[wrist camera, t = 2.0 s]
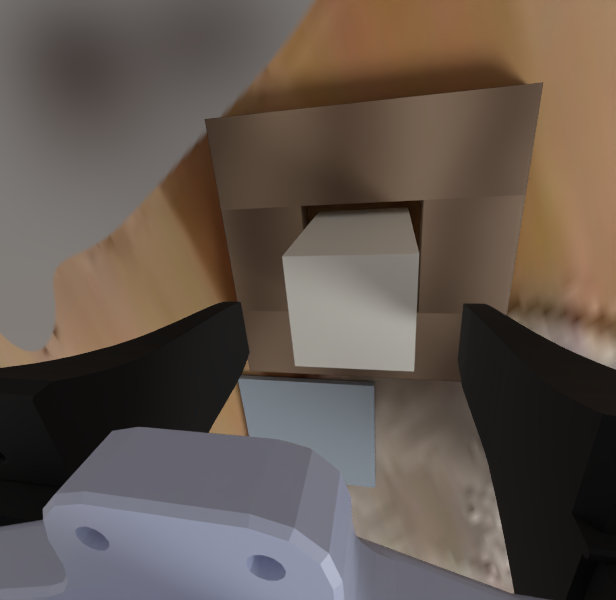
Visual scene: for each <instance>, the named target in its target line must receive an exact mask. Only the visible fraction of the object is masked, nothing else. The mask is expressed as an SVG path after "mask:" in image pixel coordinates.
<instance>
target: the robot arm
mask: <svg viewBox="0 0 616 600" xmlns="http://www.w3.org/2000/svg"><path fill="white" fill-rule="evenodd" d="M249 353H250V351H249V345H248V340H247V334H246V328H245V323H244V317H243V311H242V306H241V302H222V303H218V304H215V305H213V306H210V307H208V308H206V309H203V310H201V311H199V312H197V313H195V314H192V315H190V316H188V317H186V318H184V319H181V320H179V321H177V322H175V323H172V324H170V325H168V326H165V327H163V328H161V329H158V330H156V331H154V332H151V333H149V334H146V335H144V336H141V337H138V338H135V339H132V340H129V341H126V342H123V343H120V344H117V345H114V346H110V347H107V348H103V349H99V350H95V351H92V352H88V353H84V354H80V355H76V356H71V357H66V358H62V359H56V360H51V361H46V362H40V363H34V364H27V365H20V366H12V367H5V368H0V600H616V370H615V369H612V368H610V367H607V366H605V365H602V364H599V363H597V362H595V361H592V360H590V359H588V358H585V357H583V356H581V355H578V354H576V353H574V352H572V351H569V350H567V349H565V348H563V347H561V346H559V345H557V344H555V343H553V342H551V341H550V340H548V339H546V338H544V337H542V336H540V335H538V334H537V333H535V332H533V331H531V330H530V329H528V328H526V327H524V326H523V325H521V324H519V323H518V322H516V321H514V320H513V319H511V318H510V317H508V316H506V315H505V314H503V313H502V312H500V311H498V310H497V309H495V308H493V307H491V306H489V305H487V304H477V303H463V311H462V321H461V331H460V341H459V351H458V366H459V371H460V377H461V382H462V387H463V390H464V393H465V396H466V399H467V402H468V405H469V408H470V411H471V414H472V416H473V419H474V422H475V425H476V428H477V431H478V434H479V436H480V439H481V442H482V445H483V448H484V451H485V454H486V458H487V461H488V465H489V469H490V473H491V478H492V482H493V487H494V491H495V496H496V500H497V505H498V510H499V515H500V520H501V524H502V529H503V534H504V539H505V544H506V550H507V555H508V560H509V566H510V571H511V576H512V582H513V587H514V593H515V594H512V593H509V592H506V591H503V590H500V589H498V588H495V587H492V586H490V585H487V584H484V583H482V582H479V581H476V580H473V579H471V578H468V577H465V576H463V575H460V574H457V573H455V572H452V571H449V570H446V569H444V568H441V567H438V566H436V565H433V564H430V563H428V562H425V561H422V560H420V559H417V558H414V557H411V556H409V555H406V554H403V553H401V552H398V551H395V550H393V549H390V548H387V547H384V546H382V545H379V544H376V543H374V542H371V541H368V540H366V539H363V538H360V537H357V536H356V535H355V531H354V527H353V523H352V504H351V496H350V493H349V491H348V489H347V486H346V484H345V482H344V479H343V477H342V475H341V472H340V471H339V470H338V469H336V468H335V467H334V466H332V465H331V464H330V463H329V462H327V461H326V460H325V459H324V458H322V457H321V456H320V455H318V454H317V453H316V452H315V451H313V450H312V449H311V448H307V447H304V446H300V445H297V444H294V443H290V442H287V441H283V440H280V439H270V438H259V437H248V436H237V435H226V434H214V433H209V431H210V429H211V427H212V425H213V423H214V422H215V420H216V418H217V416H218V415H219V413H220V411H221V410H222V408H223V406H224V404H225V403H226V401H227V399H228V398H229V396H230V394H231V392H232V391H233V389H234V387H235V385H236V384H237V382H238V380H239V378H240V376H241V374H242V372H243V369H244V367H245V364H246V361H247V359H248V356H249Z"/></svg>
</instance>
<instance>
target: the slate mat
mask: <svg viewBox="0 0 616 600" xmlns="http://www.w3.org/2000/svg"><path fill="white" fill-rule="evenodd" d="M238 382H239V387H240V392H241V397H242V402H243V407H244V412H245V418H246V423H247V428H248V433H249V437H259V438H270V439H280V440H283V441H287V442H290V443H294V444H297V445H300V446H304V447H307V448H311V449H312V450H313V451H315V452H316V453H317V454H318V455H320V456H321V457H322V458H324V459H325V460H326V461H327V462H329V463H330V464H331V465H332V466H334V467H335V468H336V469H338V470H339V471H340V472H341V475H342V477H343V479H344V482H345V484H348V485H357V486H365V487H374V488H375V412H374V382H361V381H342V380H324V379H305V378H286V377H268V376H249V375H241V376H240V378H239V380H238Z"/></svg>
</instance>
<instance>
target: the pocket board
mask: <svg viewBox="0 0 616 600" xmlns="http://www.w3.org/2000/svg"><path fill="white" fill-rule="evenodd" d="M542 87H543V83H534V84H524V85H515V86H506V87H497V88H488V89H478V90H469V91H460V92H451V93H442V94H432V95H423V96H414V97H405V98H396V99H386V100H377V101H368V102H359V103H350V104H340V105H331V106H322V107H313V108H304V109H294V110H285V111H276V112H267V113H258V114H248V115H239V116H230V117H221V118H212V119H205V123H206V129H207V134H208V140H209V146H210V151H211V157H212V162H213V168H214V173H215V179H216V185H217V190H218V196H219V201H220V207H221V212H222V218H223V223H224V229H225V235H226V240H227V246H228V251H229V257H230V262H231V268H232V274H233V279H234V285H235V290H236V296H237V301H238V302H241V306H242V311H243V317H244V323H245V328H246V334H247V340H248V345H249V351H250V353H249V356H248V363H249V368H250V371H263V372H283V373H303V374H323V375H342V376H362V377H382V378H401V379H421V380H441V381H461V377H460V371H459V366H458V351H459V341H460V331H461V321H462V311H463V303H477V304H487V305H489V306H491V307H493V308H495V309H497V310H498V311H500V312H502V313H503V314H505V315H506V316H507V310H508V304H509V297H510V291H511V284H512V278H513V272H514V265H515V259H516V253H517V246H518V240H519V234H520V227H521V221H522V215H523V208H524V202H525V195H526V189H527V183H528V176H529V170H530V164H531V157H532V151H533V145H534V138H535V132H536V126H537V119H538V113H539V106H540V100H541V94H542ZM413 200H421V209H420V232H419V270H418V293H417V316H416V339H415V362H414V372H412V371H390V370H369V369H347V368H325V367H304V366H295V361H294V353H293V345H292V336H291V328H290V319H289V311H288V302H287V294H286V286H285V277H284V269H283V260H282V256H283V255H284V254H285V252H286V251H287V250H288V249H289V247H290V246H291V245H292V244H293V243H294V241H295V240H296V239H297V238H298V237H299V235H300V234H301V233H302V232H303V230H304V229H305V228H306V227H307V226H308V224H309V222H308V210H307V206H313V205H333V204H353V203H373V202H393V201H413Z"/></svg>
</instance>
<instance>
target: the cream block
mask: <svg viewBox="0 0 616 600" xmlns="http://www.w3.org/2000/svg"><path fill="white" fill-rule="evenodd" d="M282 260H283V269H284V277H285V286H286V294H287V302H288V311H289V319H290V328H291V336H292V345H293V353H294V361H295V366H304V367H325V368H347V369H369V370H390V371H412V372H414V362H415V339H416V316H417V293H418V270H419V251H418V247H417V243H416V238H415V234H414V230H413V226H412V222H411V218H410V214H409V210H408V207H407V208H386V209H364V210H342V211H321V212H318V214H317V215H316V216H315V217H314V218H313V220H312V221H311V222H310V223H309V224H308V226H307V227H306V228H305V229H304V230H303V232H302V233H301V234H300V235H299V237H298V238H297V239H296V240H295V241H294V243H293V244H292V245H291V246H290V247H289V249H288V250H287V251H286V252H285V254H284V255H283V256H282Z"/></svg>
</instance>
